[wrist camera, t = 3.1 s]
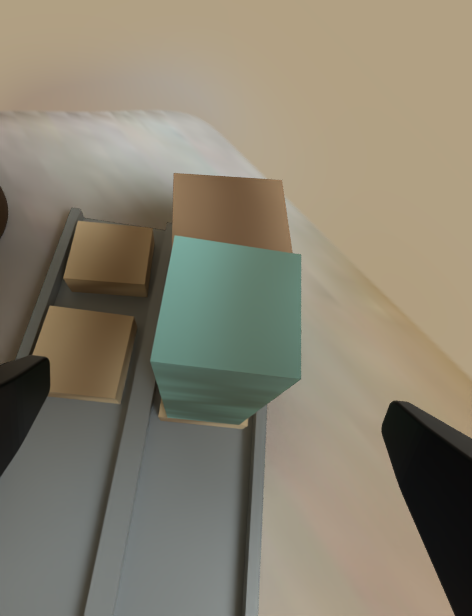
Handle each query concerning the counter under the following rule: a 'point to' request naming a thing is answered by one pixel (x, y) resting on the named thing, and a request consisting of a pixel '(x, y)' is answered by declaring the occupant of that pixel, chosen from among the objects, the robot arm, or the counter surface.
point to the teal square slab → (226, 332)
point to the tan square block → (87, 353)
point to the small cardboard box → (110, 259)
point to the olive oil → (3, 212)
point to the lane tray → (128, 488)
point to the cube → (231, 211)
